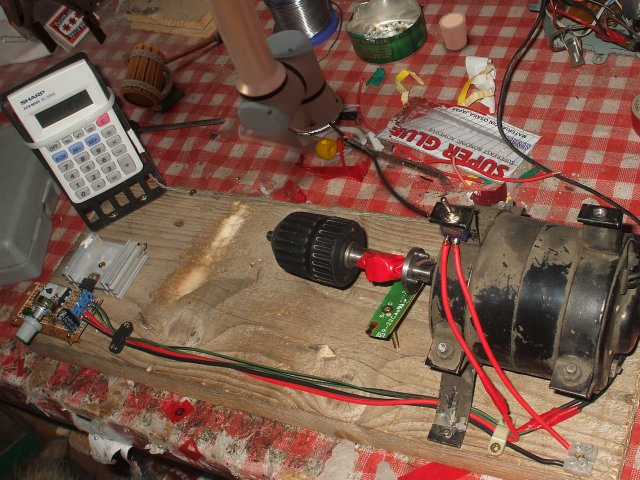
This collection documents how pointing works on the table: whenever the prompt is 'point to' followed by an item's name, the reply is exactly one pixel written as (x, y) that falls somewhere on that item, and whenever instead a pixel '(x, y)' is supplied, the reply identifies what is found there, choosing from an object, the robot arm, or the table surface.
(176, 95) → the mat
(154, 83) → the mug
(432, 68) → the table surface
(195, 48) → the hammer
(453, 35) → the pink cylinder
